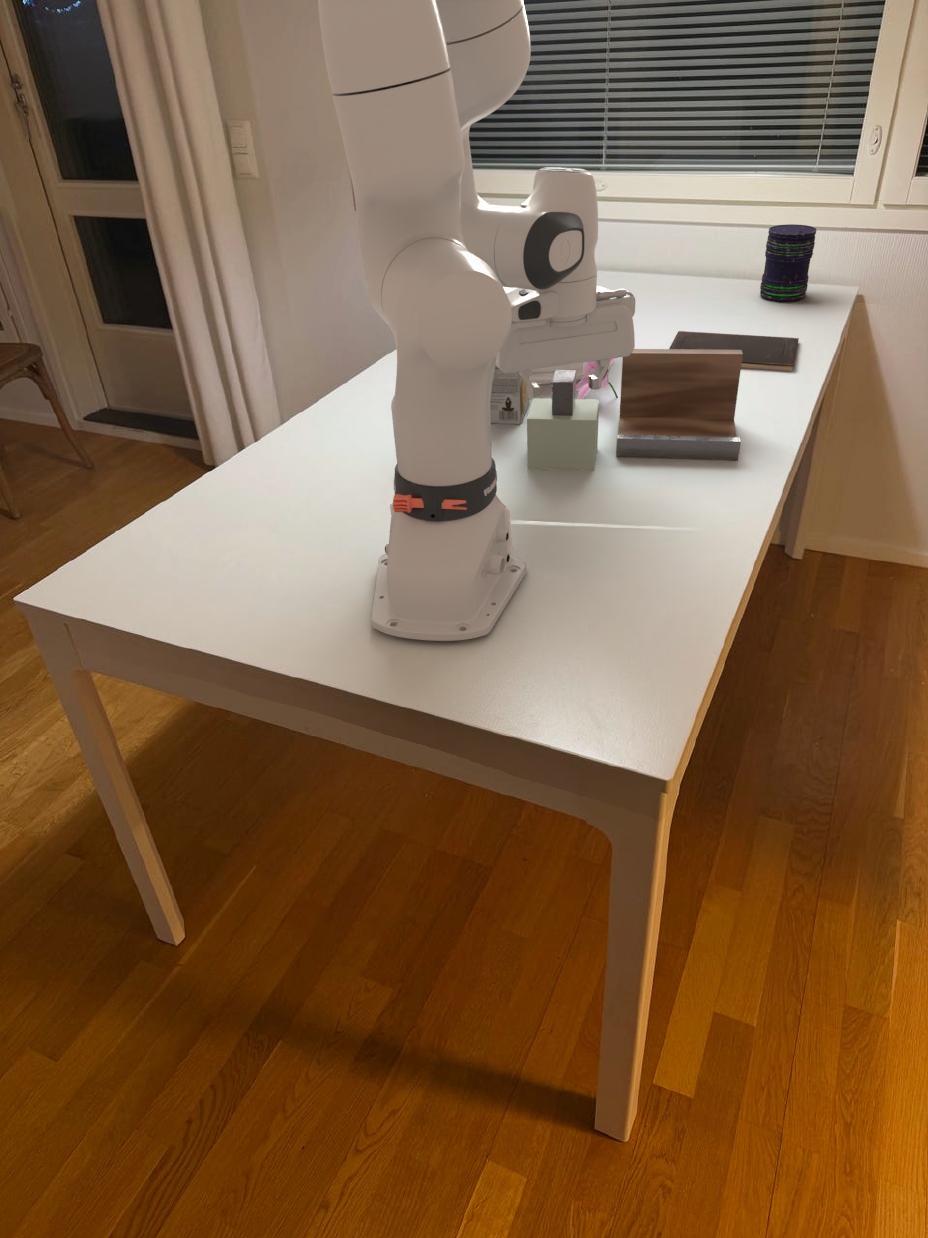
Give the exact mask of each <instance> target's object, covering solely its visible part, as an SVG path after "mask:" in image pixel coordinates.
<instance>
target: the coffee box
mask: <svg viewBox="0 0 928 1238" xmlns="http://www.w3.org/2000/svg"><path fill="white" fill-rule="evenodd" d="M528 378H529V377H528ZM529 405H530V399H529V398H528V396H527V385H526V383H525V382H524V380H523V379H522V377H521V376H520V374H519V371H518V372H511V373H503V372H502V371H501V370H500V369H499V368H498V367H497V366H495V371H494V377H493V383H492V390H491V399H490V420H491V424H499V425H501V424H502V425H503V424H504V425H506V424H507V425H521V424H522V422H523V421H524V417H525V415H526V413H527V411H528V407H529Z"/></svg>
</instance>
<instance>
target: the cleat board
mask: <svg viewBox="0 0 928 1238" xmlns="http://www.w3.org/2000/svg"><path fill="white" fill-rule="evenodd" d="M742 356H743V353H742V350H702V349H669V348H668V349H667V348H649V349H648V348H634V350H633V351H632V353H631V354H630V355H629V356H627V357H622V363H621V365H622V366H621V381H620V382H621V383H620V399H619V400H620V403H619V416H618V417H619V420H618V429H617V435H616V436H617V437H616V449H615V451H616V453H615V457H616V458H642V459H643V458H644V459H646V458H648V459H650V458H651V459H677V460H678V459H679V460H681V459H683V460H709V461H711V460H712V461H739V456H740V452H741V451H740V449H741V443H742V441H741V437H738V434H737V429H736V423H735V417H736V409H737V408H736V407H737V400H738V391H739V385H740V379H741V377H740V376H741V371H742V370H741V368H742V367H741V363H742Z"/></svg>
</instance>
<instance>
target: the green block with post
mask: <svg viewBox="0 0 928 1238" xmlns="http://www.w3.org/2000/svg"><path fill="white" fill-rule="evenodd" d="M576 382H577V380H576V370H555V374H554V377H553V381H552V383H551V398H539V397H538V398H533V399H532V402H531V405H530V408H529V411H528V415H527V417H526V450H527V451H526V453H527V454H526V456H527V457H526V458H527V463H526V464H527V465H526V466H527V467H526V468H527V470H528V469H530V470H534V469H535V470H557V471H558V470H559V471H561V470H562V471H591V472H592V471H593V472H595V469H596V460H597V453H598V444H599V443H598V442H599V420H600V419H599V416H600V415H599V414H600V413H599V412H600V411H599V410H600V399H594V398H592V399H591V398H590V399H589V398H587V399H586V398H583V399H577V398H576V391H575V389H576V385H577V383H576Z"/></svg>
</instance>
